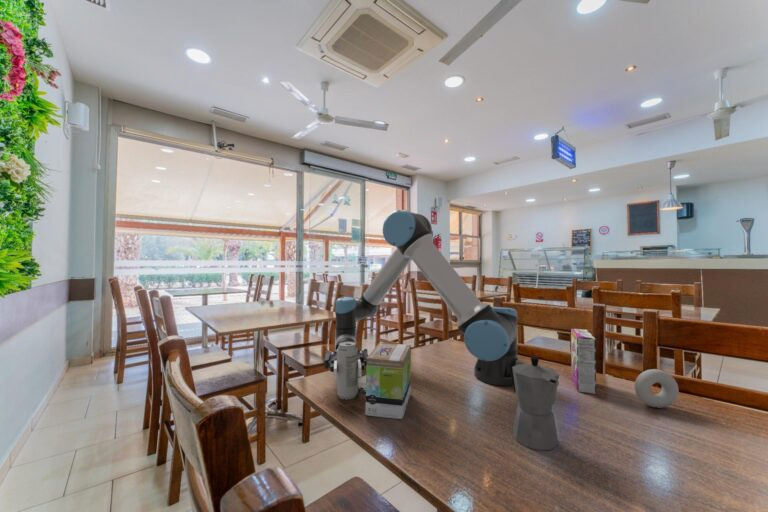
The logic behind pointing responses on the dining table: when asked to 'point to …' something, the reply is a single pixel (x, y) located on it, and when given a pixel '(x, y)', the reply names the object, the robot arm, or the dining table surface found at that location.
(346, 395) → the energy drink can
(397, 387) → the tea box
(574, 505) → the dining table surface
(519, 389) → the coffeepot
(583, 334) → the candy bar box
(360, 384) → the pad
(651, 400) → the donut
